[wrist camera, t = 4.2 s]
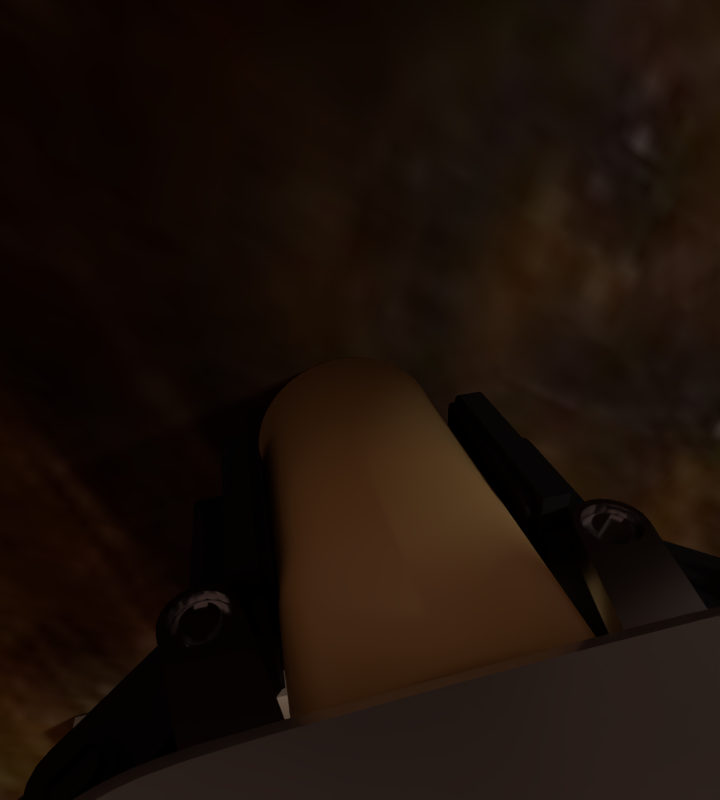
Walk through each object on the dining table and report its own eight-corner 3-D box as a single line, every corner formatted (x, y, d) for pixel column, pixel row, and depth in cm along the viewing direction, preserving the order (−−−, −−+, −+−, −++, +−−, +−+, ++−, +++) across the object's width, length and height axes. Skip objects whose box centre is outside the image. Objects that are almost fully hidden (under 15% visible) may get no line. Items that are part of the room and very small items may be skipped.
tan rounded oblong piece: (240, 378, 13) (266, 718, 6) (428, 340, 13) (658, 606, 6) (277, 525, 15) (328, 894, 8) (436, 487, 15) (610, 799, 9)
